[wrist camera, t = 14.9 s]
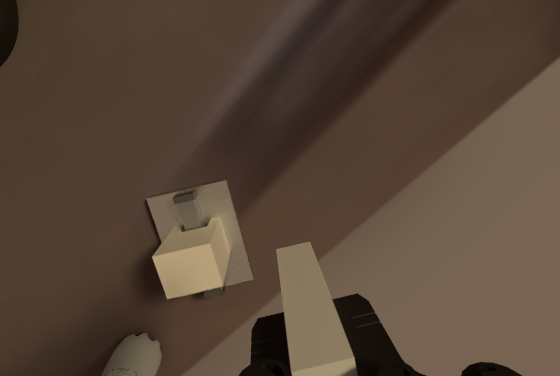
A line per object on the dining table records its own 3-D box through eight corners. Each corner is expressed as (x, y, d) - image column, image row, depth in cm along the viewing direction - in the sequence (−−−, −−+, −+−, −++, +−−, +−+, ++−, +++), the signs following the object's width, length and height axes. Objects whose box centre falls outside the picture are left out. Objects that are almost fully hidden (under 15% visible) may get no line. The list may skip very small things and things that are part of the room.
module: (185, 263, 40) (167, 300, 33) (173, 227, 39) (151, 256, 31) (230, 253, 40) (223, 287, 33) (219, 216, 39) (210, 243, 31)
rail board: (182, 291, 43) (176, 306, 39) (149, 196, 39) (139, 203, 36) (253, 274, 43) (253, 288, 39) (227, 178, 39) (224, 184, 36)
